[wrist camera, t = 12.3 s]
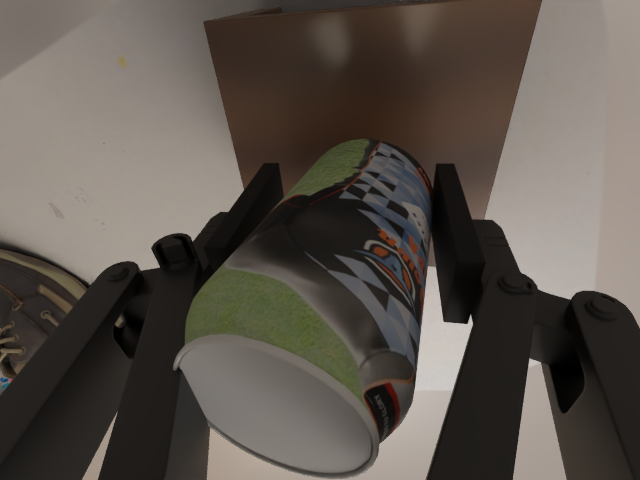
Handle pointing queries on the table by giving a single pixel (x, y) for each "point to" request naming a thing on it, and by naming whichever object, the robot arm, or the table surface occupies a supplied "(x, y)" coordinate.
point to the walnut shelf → (375, 84)
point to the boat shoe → (31, 306)
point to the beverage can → (319, 316)
